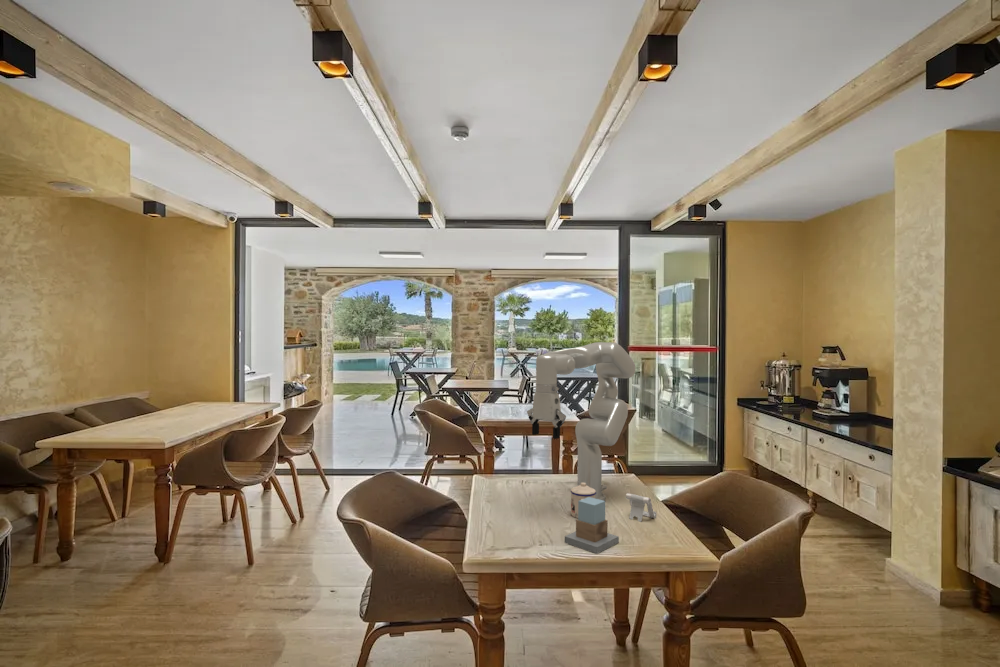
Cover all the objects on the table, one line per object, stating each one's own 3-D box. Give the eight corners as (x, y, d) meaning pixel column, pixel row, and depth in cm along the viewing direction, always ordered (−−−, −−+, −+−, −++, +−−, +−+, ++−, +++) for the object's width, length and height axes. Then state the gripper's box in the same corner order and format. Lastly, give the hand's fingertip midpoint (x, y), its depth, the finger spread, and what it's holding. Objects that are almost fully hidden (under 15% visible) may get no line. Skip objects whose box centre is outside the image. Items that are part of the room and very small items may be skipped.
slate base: (586, 532, 173) (586, 526, 173) (618, 542, 164) (618, 536, 164) (564, 542, 164) (564, 536, 164) (597, 553, 156) (597, 547, 156)
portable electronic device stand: (656, 518, 188) (656, 494, 188) (646, 523, 182) (646, 499, 182) (634, 512, 194) (634, 489, 194) (624, 517, 188) (624, 494, 188)
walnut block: (588, 530, 169) (588, 514, 169) (607, 536, 164) (607, 520, 164) (575, 536, 164) (576, 520, 164) (594, 542, 159) (594, 525, 159)
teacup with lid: (571, 510, 195) (571, 478, 195) (596, 512, 193) (596, 480, 193) (569, 521, 183) (569, 487, 183) (595, 523, 181) (595, 489, 182)
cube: (589, 515, 169) (589, 496, 169) (605, 520, 164) (605, 501, 164) (578, 520, 164) (578, 500, 164) (594, 525, 160) (594, 505, 160)
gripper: (571, 390, 187) (571, 438, 187) (534, 386, 199) (534, 431, 199) (558, 391, 182) (558, 441, 182) (521, 388, 194) (521, 434, 194)
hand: (545, 436), depth 190 cm, fingers open, 9 cm apart
